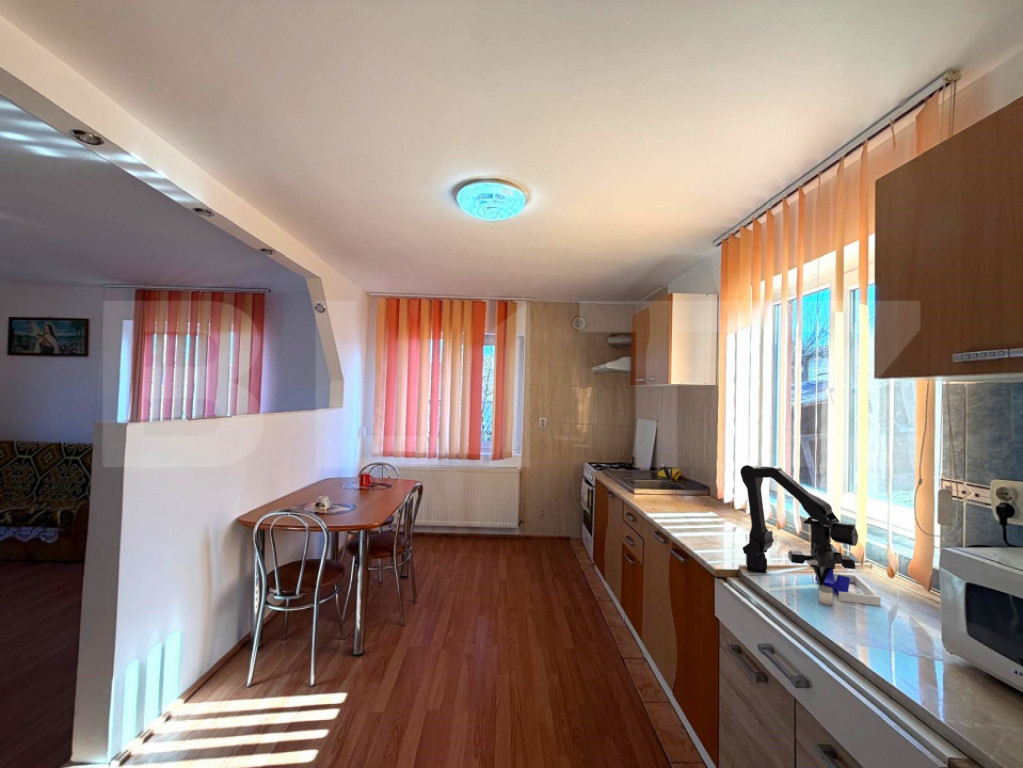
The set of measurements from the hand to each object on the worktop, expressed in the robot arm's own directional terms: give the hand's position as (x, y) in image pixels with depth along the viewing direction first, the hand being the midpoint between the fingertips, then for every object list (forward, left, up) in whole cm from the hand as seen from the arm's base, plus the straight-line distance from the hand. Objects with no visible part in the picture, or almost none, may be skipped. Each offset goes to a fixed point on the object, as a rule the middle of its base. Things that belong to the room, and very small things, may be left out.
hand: (821, 584), depth 161 cm
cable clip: (+3, +1, -1) cm, 3 cm away
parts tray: (+8, 0, -1) cm, 8 cm away
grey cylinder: (-2, -14, -1) cm, 14 cm away
